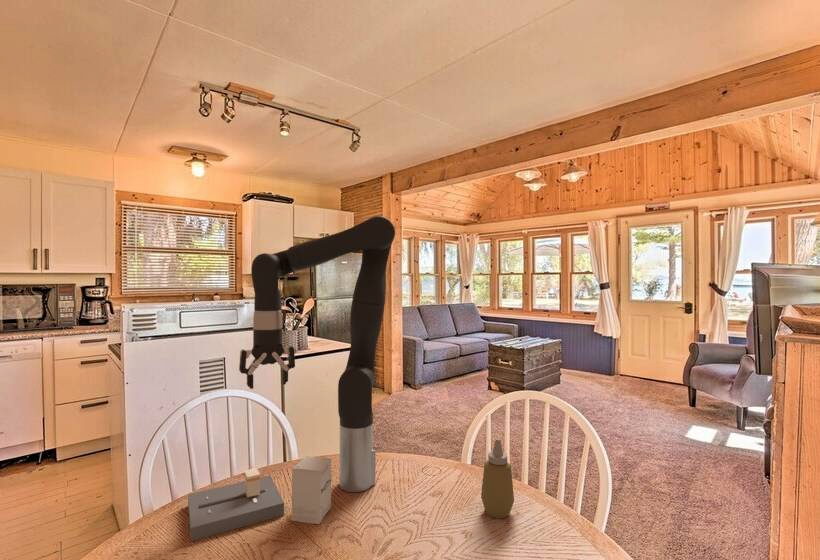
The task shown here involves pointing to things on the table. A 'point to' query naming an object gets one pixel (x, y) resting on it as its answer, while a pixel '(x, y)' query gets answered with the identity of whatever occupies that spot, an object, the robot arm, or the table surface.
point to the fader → (252, 482)
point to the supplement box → (311, 489)
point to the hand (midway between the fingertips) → (267, 386)
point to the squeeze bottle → (497, 483)
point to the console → (232, 508)
